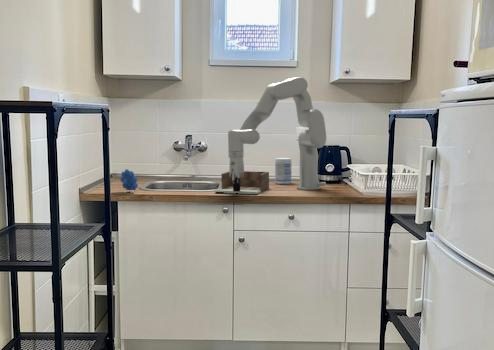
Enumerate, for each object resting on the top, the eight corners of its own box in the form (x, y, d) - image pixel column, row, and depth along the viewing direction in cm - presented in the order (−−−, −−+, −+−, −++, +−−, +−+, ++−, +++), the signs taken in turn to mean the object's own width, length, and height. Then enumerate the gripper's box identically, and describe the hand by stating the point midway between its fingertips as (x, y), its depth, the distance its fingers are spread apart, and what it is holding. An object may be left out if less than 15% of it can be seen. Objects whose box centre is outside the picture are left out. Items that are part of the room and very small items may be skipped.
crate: (268, 188, 256) (268, 171, 255) (261, 192, 242) (261, 174, 241) (230, 186, 263) (230, 170, 262) (221, 190, 249) (221, 173, 248)
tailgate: (261, 190, 241) (256, 192, 232) (261, 192, 241) (256, 194, 232) (220, 188, 247) (214, 190, 239) (220, 191, 247) (214, 192, 239)
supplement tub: (287, 184, 270) (287, 159, 268) (272, 183, 274) (272, 158, 272) (294, 182, 278) (294, 158, 276) (279, 182, 283) (279, 157, 281)
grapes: (115, 192, 245) (114, 169, 243) (124, 190, 250) (124, 168, 249) (131, 194, 239) (130, 170, 237) (141, 192, 244) (140, 169, 243)
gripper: (238, 155, 227) (239, 193, 229) (247, 153, 241) (248, 189, 243) (223, 155, 229) (224, 193, 231) (233, 153, 243) (234, 188, 245)
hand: (236, 190), depth 237 cm, fingers closed
